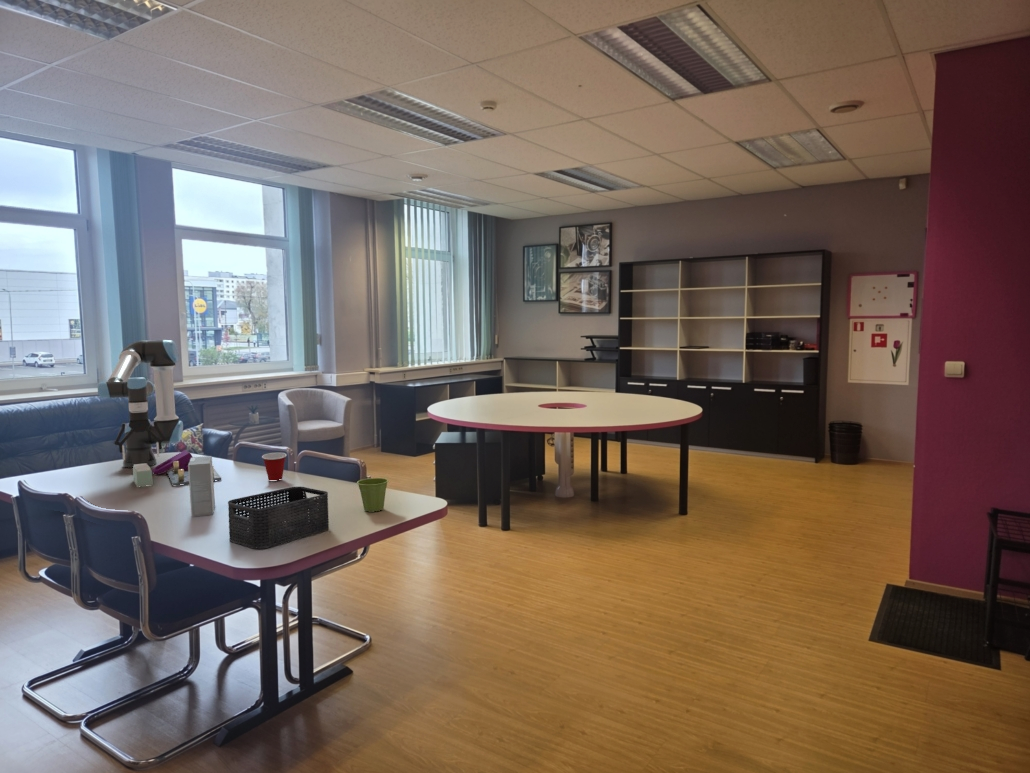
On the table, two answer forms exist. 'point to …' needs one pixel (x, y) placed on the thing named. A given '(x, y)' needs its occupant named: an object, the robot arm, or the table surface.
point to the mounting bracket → (181, 457)
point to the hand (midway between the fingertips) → (141, 458)
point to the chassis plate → (184, 475)
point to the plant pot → (373, 493)
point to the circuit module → (142, 475)
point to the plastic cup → (274, 465)
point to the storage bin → (277, 517)
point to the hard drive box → (201, 486)
